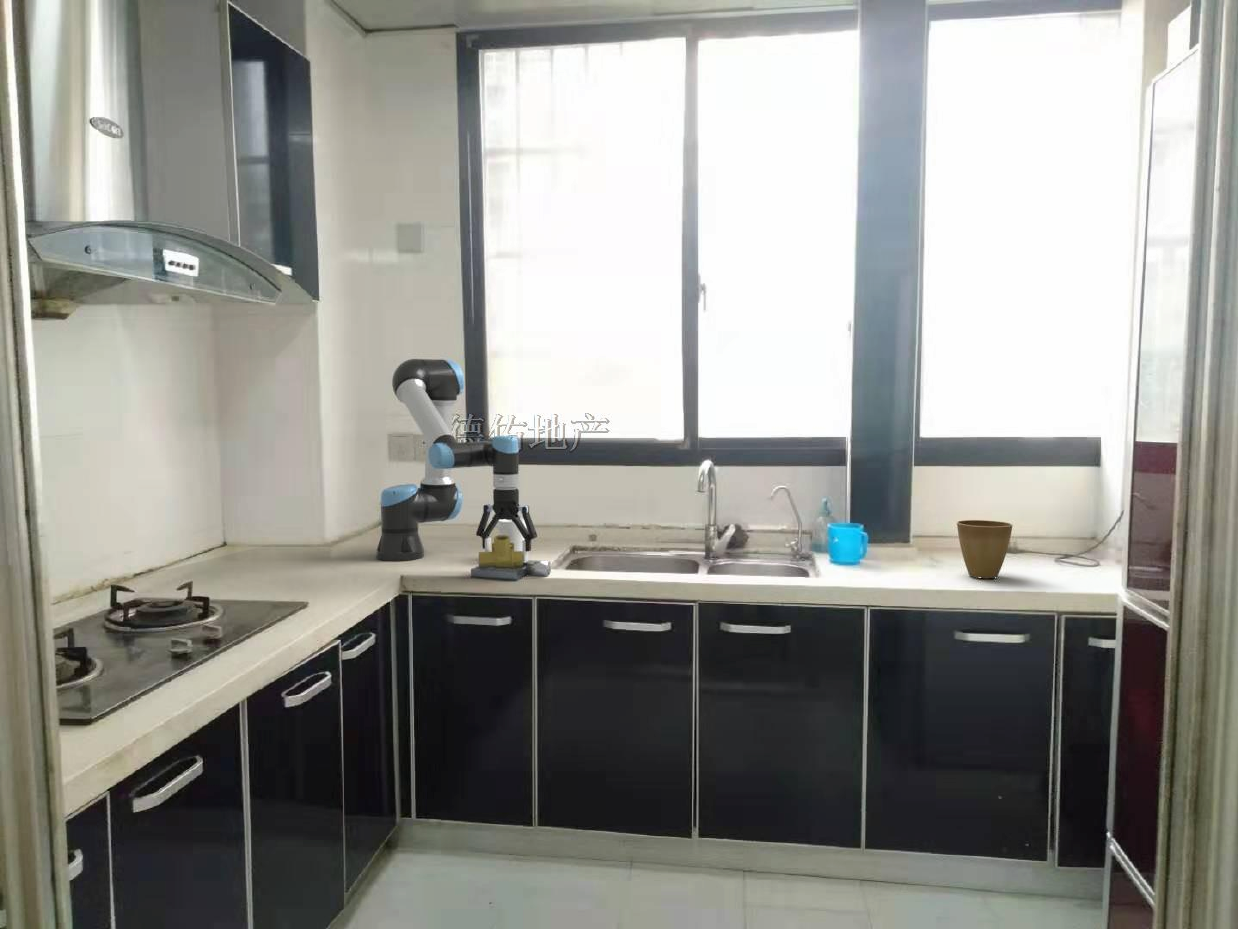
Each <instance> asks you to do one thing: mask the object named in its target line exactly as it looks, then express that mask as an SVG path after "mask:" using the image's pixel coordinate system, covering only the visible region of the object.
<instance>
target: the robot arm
mask: <svg viewBox="0 0 1238 929" xmlns="http://www.w3.org/2000/svg"><path fill="white" fill-rule="evenodd" d="M391 381H392V383H391V384H392V385H391V386H392V390H393V392H394V395H395V397H396V398H397V400H398V401H399V402H400V403H402V404H404V405H405V407H406V408H407V410H408V412H409V413H410V415H411V417H412V419H413V421H414V422H415V424H416V425H417V426H418V428H419V430H420V432H421V434H422V435H423V437H424V438H425V440H424V443H425V444H424V446H425V447H424V476H423V478H422V479H421V480H420V482H419V483H420V484H419V486H420V487H418V485H417V484H414V483H413V484H412V483H406V484H399V485H394V486H390V487H386V488H385V489H383V490H382V491H381V495H380V520H381V525H380V526H381V535H380V538H379V542H378V544H377V548H376V559H377V560H380V561H386V562H387V561H388V562H389V561H390V562H399V561H400V562H401V561H402V562H403V561H413V560H417V559H418V560H419V559H421V558H423V557H425V548H424V545H423V542H422V540H421V537H420V534H419V524H424V523H434V522H435V523H436V522H446V521H450V520H453V519H455V518H457V516H459V514H460V513H461V510H462V505H463V494H462V490H461V488H460V487H459V486H457V485H456V480H455V479H453V477H452V469H459V468H460V469H462V468H463V469H464V468H478V467H479V468H480V467H492V480H493V482H492V484H493V491H492V492H493V493H492V494H493V495H492V496H493V497H492V499H493V503H492V504H490V503H487V504H484V505H483V511H482V515H481V519H480V521H479V523H478V526H477V529H476V530H477V531H476V533H475V535H476V536H477V537H480V538H481V539H482V541H481V542H482V543H481V544H482V546H481V547H482V549H484V552H492V537H490V535H491V534H492V532H493V530H494V529H495V528H496V526H497V525H498V521H499V520H503V519H506V520H512V522H514V523H515V525H516V527H517V528H518V530H519V531H520V533H521V534H522V536H523V538H524V539H525V540H524V541H522V563H526V562H528V560H529V552H531V551H532V540H533V539H534V540H535V539H536V538H538V534H537V531H536V528H535V525H534V522H533V520H532V517H531V515H530V506H529V505H526V506H525V505H523V506H522V505H520V504H519V502H520V494H519V493H520V490H519V489H518V487H519V485H520V480H519V476H520V475H519V470H520V468H519V465H520V464H519V459H520V458H519V457H520V456H519V455H520V452H519V451H520V449H519V440H518V437H516V436H514V435H496V436H494V437H493V438H492V441H490V440H479V441H468V442H467V441H466V442H463V441H461V442H459V441H457V439H456V438H455V436H454V435H453V431H452V430H453V426H452V425H453V405H454V404H455V403H457V401H458V400H457V398H458V396H459V395H461V394H462V393H463V390H464V388H465V377H464V373H463V369H462V368H461V367H460V365H459V364H458V363H457V362H456V361H453V360H448V359H443V358H442V359H427V358H410V359H408V360H405V361H403V362H401V363H400V364H399V365H398V366H397V368H396V369H395V370H394V373H393V375H392V380H391ZM492 511H493V512H494V515H493V516H492V518H491V520H490V522H489V524H488V521H489V518H490V515H491V512H492ZM519 512H520V513H521V514H522V518H523V519H524V521H525V524H526V527H527V528H526V527H525V526H524V524H523V523H522V521H521V520H520V518H521V517H520V515H519V514H518V513H519ZM487 524H488V525H487Z"/></svg>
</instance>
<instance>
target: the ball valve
mask: <svg viewBox="0 0 1238 929" xmlns="http://www.w3.org/2000/svg"><path fill="white" fill-rule="evenodd" d="M510 545H512V546H511V547H510ZM522 564H523V563H522V551H514V543H513V542H510V537H509V536H506V535H496V536H494V538H493V542H491V552H485V551H479V552H478V566H479V567H496V568H497V569H498V568H510V569H514V567H522Z"/></svg>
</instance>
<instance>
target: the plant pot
mask: <svg viewBox="0 0 1238 929" xmlns="http://www.w3.org/2000/svg"><path fill="white" fill-rule="evenodd" d="M1013 526H1014V525H1013V523H1010V522H1005V521H996V520H980V519H966V520H965V519H963V520H958V521H956V527H957V533H958V535H957V536H958V540H959V545H960V550H961V553H962V557H963V562H964V564H965V567H966V570H967V573H968V576H969V575H970V576H972V577H971V578H973V577H981V578H995V577H997V578H998V576H999V574H1000V572H1001V569H1002V567H1003V564H1004V562H1005V560H1006V556H1007V552H1008V549H1009V546H1010V545H1009V544H1010V541H1011V536H1012V530H1013ZM970 576H969V577H970Z"/></svg>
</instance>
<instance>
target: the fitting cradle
mask: <svg viewBox="0 0 1238 929" xmlns="http://www.w3.org/2000/svg"><path fill="white" fill-rule="evenodd" d="M551 570H552V565H551V561H550V560H540V559H539V560H538V559H528V562H526V563H523V564H522V567H514V569H510V568H498V569H497V568H496V567H479V565H478V566H475V567H473V568H470V578H472V579H487V580H499V581H500V580H502V581H513V582H518V581H519V580H522V579H524V578H525V576H526V577H528V576H539V575H540V576H541V577H549V576H550V574H551V572H552V571H551ZM527 575H528V576H527ZM548 575H549V576H548ZM523 577H524V578H523Z"/></svg>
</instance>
